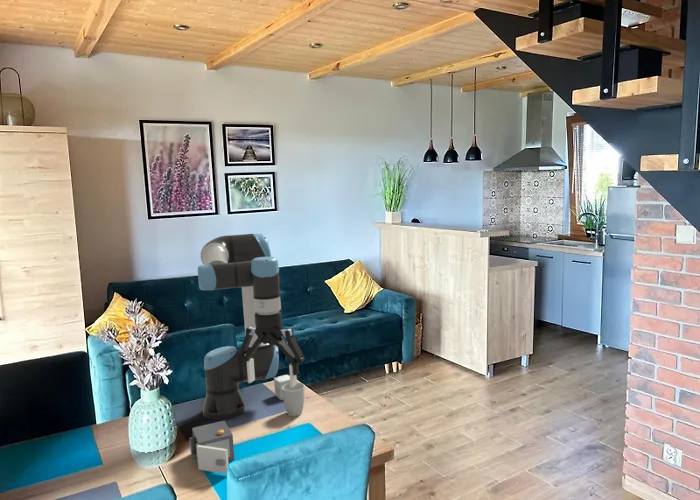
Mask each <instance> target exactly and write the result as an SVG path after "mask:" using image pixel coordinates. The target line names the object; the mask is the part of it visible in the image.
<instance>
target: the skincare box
mask: <svg viewBox="0 0 700 500" xmlns="http://www.w3.org/2000/svg"><path fill="white" fill-rule="evenodd" d="M273 383H274V395H275V397H276V398H278V399H279V400H280V401H284V400H283V393H282V386H283V385H285V384H288V383H290V374H283V375H280V376H276V377H273Z"/></svg>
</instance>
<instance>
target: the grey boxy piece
mask: <svg viewBox="0 0 700 500" xmlns="http://www.w3.org/2000/svg"><path fill="white" fill-rule="evenodd" d="M191 429H192V437H189V438H188V439H189V441H188V442H189V449H190V454H191V456H195V459H197V453H196V444H198V445H202V446H209V447H216V448H223V449H228V462H231V461H235V448H234V436H233V433H232V431H231V429H230V427H229V426H228V424H227V422H226V421H225V420H219V421H217V422H216V421H215V422H212V423H208V424H204V425H203V424H202V425H198V426H195V427H192V428H191Z"/></svg>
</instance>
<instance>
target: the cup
mask: <svg viewBox="0 0 700 500" xmlns="http://www.w3.org/2000/svg"><path fill="white" fill-rule="evenodd" d="M305 389H306V388H305V384H304V383H303V382H302V383H301V382H299V381H297V384H296V385H295V386H294V387H290V383H288V384H285V385H283V386H282V393H283V400H282V401H283V404H284V407H285V411H286V413H287V415H288V416H289V417H290V416H291V417H297V416H300V415H302V414H303V410H304V406H305V392H306V391H305Z"/></svg>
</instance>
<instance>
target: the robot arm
mask: <svg viewBox="0 0 700 500" xmlns="http://www.w3.org/2000/svg"><path fill="white" fill-rule="evenodd" d="M200 262H201V263H202V264H201V265H199V266H198V267H197V278H198V288H199V290H201V291H215V290H217V291H218V290H227V289H235V288H241V296H242V308H243V309H242V311H243V320H244V321H243V323H244V333H245V336H244V339H243V341H242V344H241V346H240V348H239V350H238V349H237V347H235V346H231V345H230V346H229V345H227V346H221V347H217V348H215V349H213V350H210V351H209V352H207V353H206V355H205V356H204V359H203V360H204V361H203V362H204V364H203V369H204V375H205V376H204V377H205V390H206V395H205V398H204V402H203V406H202V414H203V415H202V416H203V417H204V418H205V419H206V420H210V421H211V420H212V421H225V420H231V419H233V418H236V417H238V416H239V417H240V415H242V414H243V413H244V412H245V411H246V402H245V399H244V397H243V395H242V393H241V391H240V384H241V383H245V382H247V384H251V383H253V382H254V381H261V380H263V381H265V380H268V379H271V378H273V379H274V378H275V376H276V375H277V374H278V370H279V361H280V356H279V355H280V354H279V350H280V351H281V352H282V353H283V355H285V357H286V358H287V360H288V361H289V362H290V363H289V365H288V367H289V368H288V369H289V370H288V371H289V376H290V387H294V386H295V385H296V384H297V382H298V380H297V379H298V378H297V377H298V376H297V375H299V373H300V369H299V368H300V367H299V364H301V363H302V362H304V361H305V359H306V358H305V355H304V354H303V351H302V350H301V348H300V346H299V344H298V342H297V340H296V338H295V336H294V332H293V329H292V327H290V328H287V329H283V328H282V325H283V323H282V322H283V320H282V318H283V317H282V312H281V310H282V303H281V292H280V291H281V290H280V267H279V259H278V258H277V257H274V256H272V253H271V248H270V245H269V241H268V238H267V237H266V235H265V234H263V233H253V232H252V233H245V234H232V235H230V234H229V235H220V236H217V237H215V238H213V239H212V240H209V241H208V242H206V244H205V245H204V246H203V247H202V248H201V250H200ZM283 337H284V338H285V339H286V340H285V339H284V338H283ZM276 377H277V376H276ZM239 383H240V384H239Z"/></svg>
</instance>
